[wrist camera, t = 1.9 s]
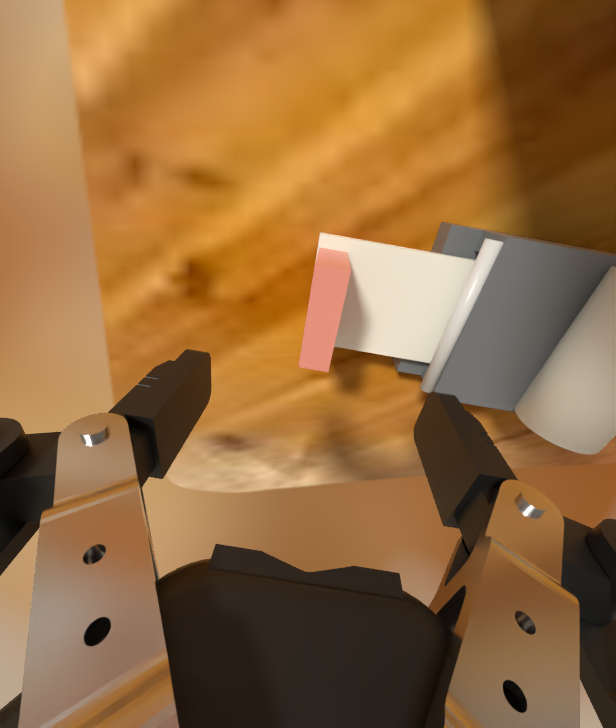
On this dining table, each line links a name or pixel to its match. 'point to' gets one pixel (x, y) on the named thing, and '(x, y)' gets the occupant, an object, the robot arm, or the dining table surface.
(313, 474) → the dining table surface
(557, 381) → the dispenser
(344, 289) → the pink-tipped cream block
